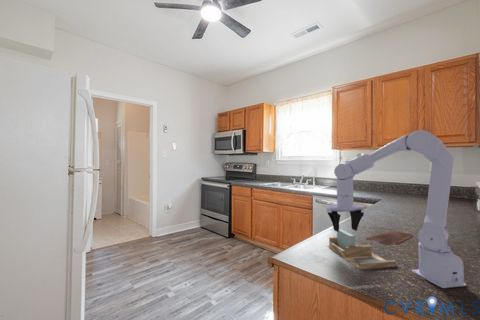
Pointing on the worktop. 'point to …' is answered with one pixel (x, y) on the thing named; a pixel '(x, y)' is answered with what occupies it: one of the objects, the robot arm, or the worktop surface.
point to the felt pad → (366, 260)
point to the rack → (360, 255)
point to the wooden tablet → (390, 237)
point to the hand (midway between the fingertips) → (345, 230)
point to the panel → (345, 239)
